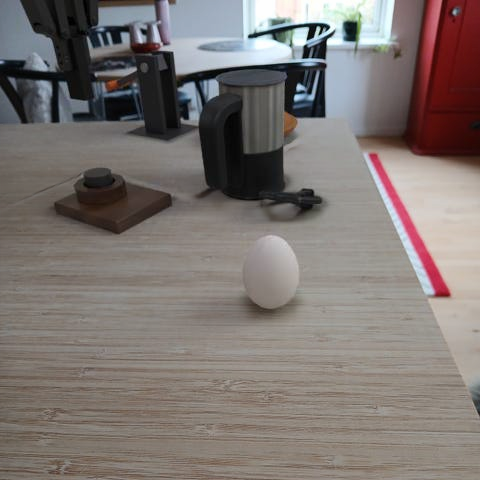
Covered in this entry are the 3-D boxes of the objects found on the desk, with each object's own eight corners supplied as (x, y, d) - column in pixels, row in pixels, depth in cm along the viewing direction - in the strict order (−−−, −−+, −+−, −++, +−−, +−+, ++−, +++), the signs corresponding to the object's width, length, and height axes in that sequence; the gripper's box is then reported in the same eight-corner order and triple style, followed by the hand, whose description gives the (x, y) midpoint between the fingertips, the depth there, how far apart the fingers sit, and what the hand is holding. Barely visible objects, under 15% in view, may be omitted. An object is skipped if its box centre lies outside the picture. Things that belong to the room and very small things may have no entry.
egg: (309, 307, 49) (313, 238, 45) (266, 328, 47) (265, 258, 42) (275, 284, 53) (275, 218, 48) (233, 302, 50) (229, 235, 46)
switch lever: (108, 94, 95) (102, 81, 94) (127, 88, 98) (122, 75, 97) (153, 72, 86) (147, 57, 85) (173, 66, 89) (167, 52, 88)
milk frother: (235, 173, 78) (230, 66, 70) (338, 183, 74) (346, 70, 65) (196, 211, 68) (184, 91, 59) (313, 226, 63) (319, 98, 54)
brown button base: (56, 213, 69) (49, 189, 67) (110, 188, 75) (106, 165, 73) (119, 234, 63) (113, 208, 61) (172, 205, 70) (169, 180, 68)
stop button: (80, 186, 68) (77, 174, 67) (100, 178, 70) (98, 165, 69) (99, 192, 66) (96, 179, 65) (119, 182, 69) (116, 170, 68)
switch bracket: (128, 138, 95) (114, 55, 86) (160, 125, 100) (150, 47, 92) (168, 147, 90) (158, 59, 82) (200, 133, 96) (193, 50, 87)
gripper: (-15, -186, 42) (59, 115, 56) (104, -168, 50) (142, 89, 64) (-63, -171, 46) (17, 108, 59) (55, -157, 54) (101, 84, 68)
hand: (82, 98), depth 62 cm, fingers closed
